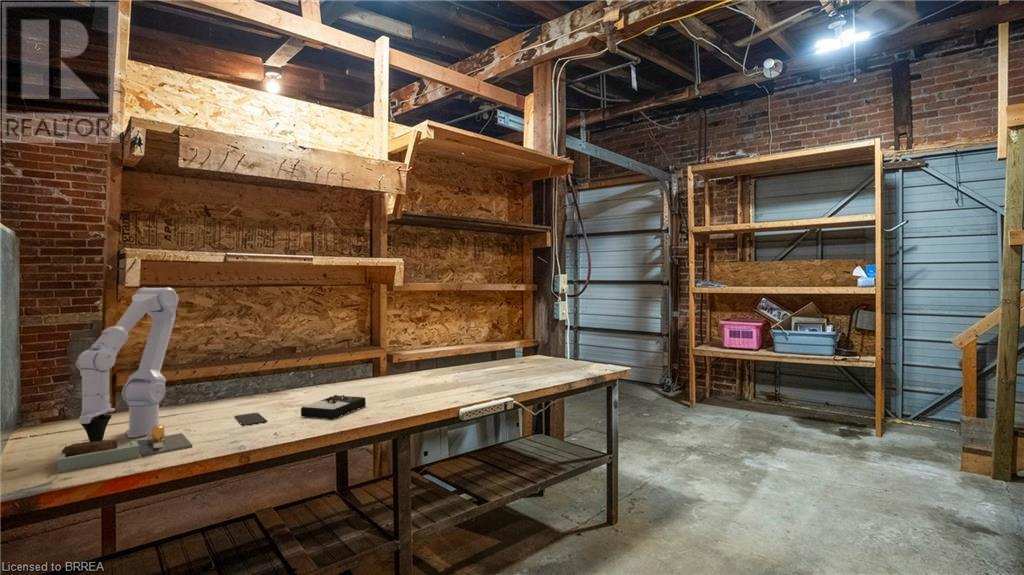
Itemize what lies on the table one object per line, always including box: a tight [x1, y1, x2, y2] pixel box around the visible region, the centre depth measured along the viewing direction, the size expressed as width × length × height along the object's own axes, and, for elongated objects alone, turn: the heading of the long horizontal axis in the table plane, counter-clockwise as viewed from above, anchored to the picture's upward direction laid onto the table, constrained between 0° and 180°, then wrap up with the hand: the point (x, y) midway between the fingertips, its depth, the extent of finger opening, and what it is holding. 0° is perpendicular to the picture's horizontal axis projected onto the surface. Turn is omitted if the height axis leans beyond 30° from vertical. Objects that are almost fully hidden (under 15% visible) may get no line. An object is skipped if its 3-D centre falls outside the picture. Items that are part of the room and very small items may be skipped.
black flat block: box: [300, 394, 366, 420], centre depth 176 cm, size 13×19×5 cm
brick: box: [61, 439, 118, 457], centre depth 127 cm, size 11×4×5 cm, turn 104°
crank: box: [146, 424, 165, 448], centre depth 137 cm, size 10×4×5 cm, turn 40°
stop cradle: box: [57, 440, 140, 473], centre depth 126 cm, size 6×16×3 cm, turn 133°
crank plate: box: [136, 432, 193, 457], centre depth 139 cm, size 15×11×1 cm
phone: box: [234, 412, 268, 427], centre depth 165 cm, size 7×1×15 cm
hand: (96, 443), depth 136 cm, fingers closed
